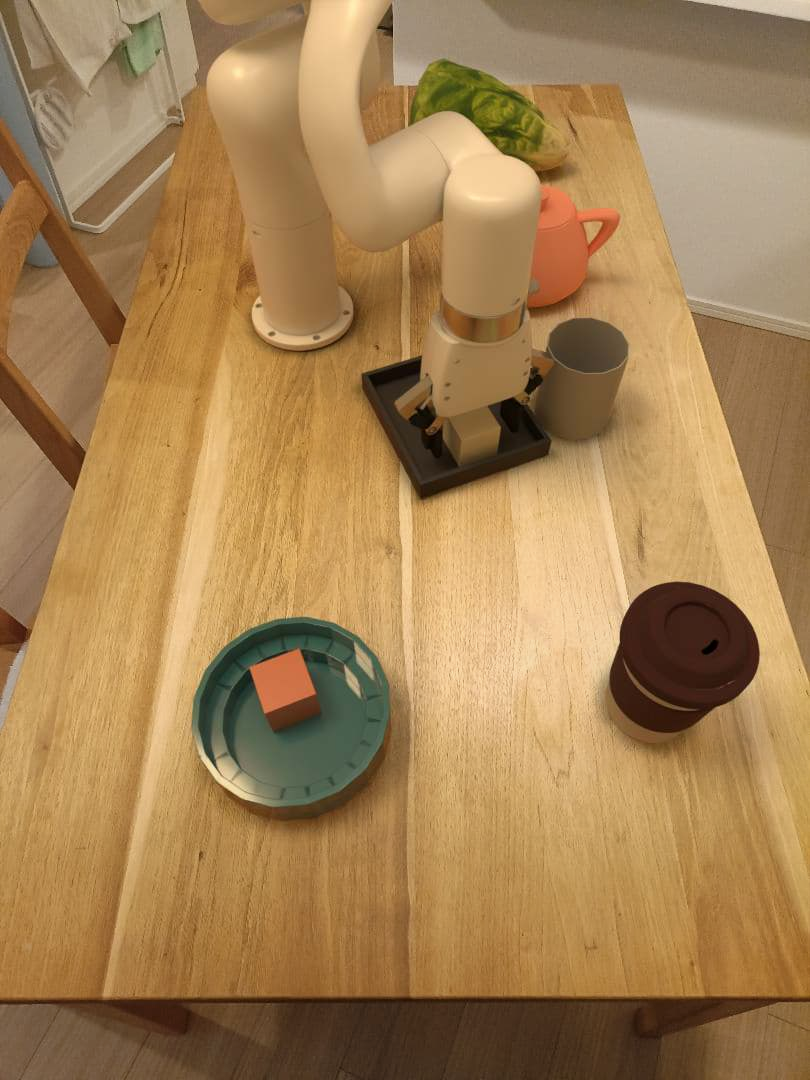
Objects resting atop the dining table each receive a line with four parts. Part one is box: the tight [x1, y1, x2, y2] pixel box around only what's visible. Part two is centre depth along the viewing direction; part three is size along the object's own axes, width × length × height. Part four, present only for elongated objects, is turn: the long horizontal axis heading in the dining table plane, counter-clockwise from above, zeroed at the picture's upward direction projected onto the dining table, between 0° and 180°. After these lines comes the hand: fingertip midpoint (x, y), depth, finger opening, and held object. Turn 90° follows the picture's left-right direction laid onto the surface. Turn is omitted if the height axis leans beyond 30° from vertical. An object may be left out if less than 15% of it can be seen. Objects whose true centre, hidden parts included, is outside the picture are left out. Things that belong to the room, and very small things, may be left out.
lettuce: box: [408, 58, 570, 173], centre depth 108 cm, size 14×23×13 cm, turn 81°
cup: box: [533, 316, 630, 441], centre depth 83 cm, size 8×8×10 cm
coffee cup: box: [604, 581, 761, 744], centre depth 62 cm, size 10×10×15 cm
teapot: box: [527, 184, 621, 308], centre depth 94 cm, size 22×15×12 cm
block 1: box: [249, 649, 322, 732], centre depth 66 cm, size 4×4×4 cm
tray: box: [360, 354, 553, 500], centre depth 85 cm, size 17×15×2 cm
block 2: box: [443, 406, 501, 467], centre depth 82 cm, size 4×4×4 cm
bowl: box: [190, 616, 393, 822], centre depth 65 cm, size 16×16×5 cm
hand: (471, 435), depth 82 cm, fingers open, 8 cm apart
